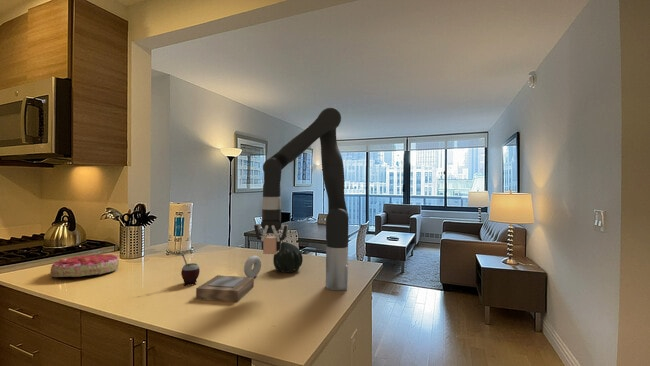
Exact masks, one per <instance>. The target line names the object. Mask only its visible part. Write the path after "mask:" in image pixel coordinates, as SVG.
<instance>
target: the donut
mask: <svg viewBox="0 0 650 366" xmlns="http://www.w3.org/2000/svg"><path fill="white" fill-rule="evenodd" d="M261 268H262V261H261V258H260V257H259V256H257V255H251V256H249V257H247V259H246V261H245V263H244V267H243V273H244V275H245V277H254V278H256V277H257V275H259V273H260V271H261Z"/></svg>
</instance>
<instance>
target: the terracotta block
mask: <svg viewBox="0 0 650 366" xmlns="http://www.w3.org/2000/svg"><path fill="white" fill-rule="evenodd" d="M278 252H279V251H277V238H276V237H275V236H267V237H266V238H264V239H263V249H262V254H263V255H274V254H277V253H278Z"/></svg>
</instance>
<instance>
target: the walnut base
mask: <svg viewBox="0 0 650 366" xmlns="http://www.w3.org/2000/svg"><path fill="white" fill-rule="evenodd" d="M254 284H255V277H247V276H238V275H237V276H236V275H219V274H218V275H215V276H214V277H212V278H211V279H209V280H207V281H206V282H204V283H203V284H202V283H201V285H199V286H198V287H196V288H195V289H196V290H195V300H203V301H215V302H216V301H217V302H218V301H219V302H229V303H230V302H231V303H238V302H239V301H240V300H242V299H243V298H244V297H245V296H246V295H247V294H249V292H250V291H251V290H252V289H253V288H254V287H255V285H254Z"/></svg>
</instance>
